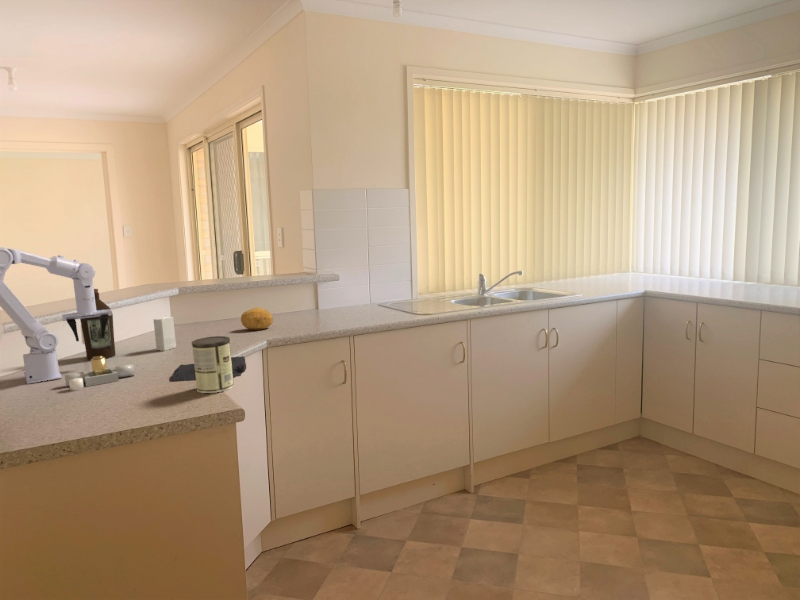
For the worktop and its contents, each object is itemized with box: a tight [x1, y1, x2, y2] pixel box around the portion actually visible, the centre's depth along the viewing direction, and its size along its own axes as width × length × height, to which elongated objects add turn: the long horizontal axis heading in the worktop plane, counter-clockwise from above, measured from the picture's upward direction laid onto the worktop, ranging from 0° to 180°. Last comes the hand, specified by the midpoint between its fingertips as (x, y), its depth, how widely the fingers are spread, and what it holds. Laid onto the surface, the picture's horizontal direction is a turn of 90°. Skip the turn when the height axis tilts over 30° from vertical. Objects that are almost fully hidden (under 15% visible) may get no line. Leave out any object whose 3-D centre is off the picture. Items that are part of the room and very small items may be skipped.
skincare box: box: [153, 316, 177, 352], centre depth 228 cm, size 6×4×12 cm
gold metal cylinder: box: [90, 356, 108, 376], centre depth 187 cm, size 4×4×8 cm
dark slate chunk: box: [170, 355, 247, 383], centre depth 189 cm, size 15×22×5 cm
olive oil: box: [79, 288, 116, 360], centre depth 219 cm, size 11×11×25 cm
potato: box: [240, 307, 274, 331], centre depth 260 cm, size 10×13×9 cm
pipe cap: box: [68, 378, 84, 392], centre depth 179 cm, size 4×4×3 cm
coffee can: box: [191, 335, 235, 394], centre depth 171 cm, size 10×10×14 cm
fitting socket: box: [64, 363, 135, 388], centre depth 187 cm, size 19×9×4 cm, turn 122°
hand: (90, 339), depth 203 cm, fingers open, 7 cm apart
